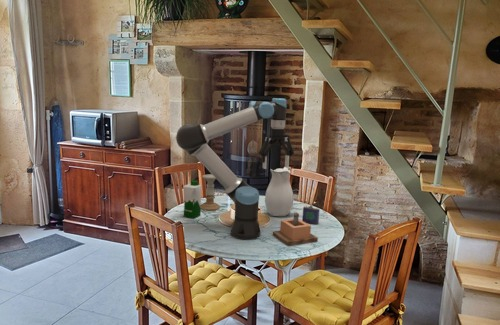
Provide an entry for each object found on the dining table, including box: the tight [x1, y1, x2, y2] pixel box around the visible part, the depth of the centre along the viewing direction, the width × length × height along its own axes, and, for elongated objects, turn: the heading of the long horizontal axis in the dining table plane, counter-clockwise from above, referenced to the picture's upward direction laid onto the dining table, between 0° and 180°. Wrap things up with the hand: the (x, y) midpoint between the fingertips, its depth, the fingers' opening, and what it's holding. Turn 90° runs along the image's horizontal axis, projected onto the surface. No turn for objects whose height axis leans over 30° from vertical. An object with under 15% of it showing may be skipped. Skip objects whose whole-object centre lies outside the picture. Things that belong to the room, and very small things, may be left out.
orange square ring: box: [279, 218, 312, 240], centre depth 186 cm, size 10×12×6 cm
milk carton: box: [182, 180, 202, 220], centre depth 212 cm, size 9×9×20 cm
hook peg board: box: [272, 212, 319, 247], centre depth 186 cm, size 17×15×13 cm
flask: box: [301, 204, 320, 226], centre depth 210 cm, size 9×3×11 cm, turn 68°
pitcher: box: [264, 166, 294, 217], centre depth 227 cm, size 24×17×28 cm
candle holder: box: [201, 173, 221, 212], centre depth 229 cm, size 12×12×20 cm
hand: (275, 168), depth 200 cm, fingers open, 13 cm apart
